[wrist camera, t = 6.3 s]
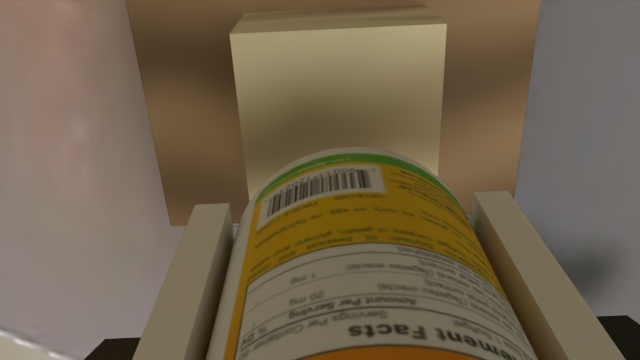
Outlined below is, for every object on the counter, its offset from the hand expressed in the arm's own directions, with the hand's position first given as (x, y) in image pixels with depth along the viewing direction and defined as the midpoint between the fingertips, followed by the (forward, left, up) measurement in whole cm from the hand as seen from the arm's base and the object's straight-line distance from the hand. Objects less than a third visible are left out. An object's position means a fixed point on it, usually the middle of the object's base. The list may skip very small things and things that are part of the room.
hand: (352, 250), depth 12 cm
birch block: (0, 0, -11) cm, 11 cm away
